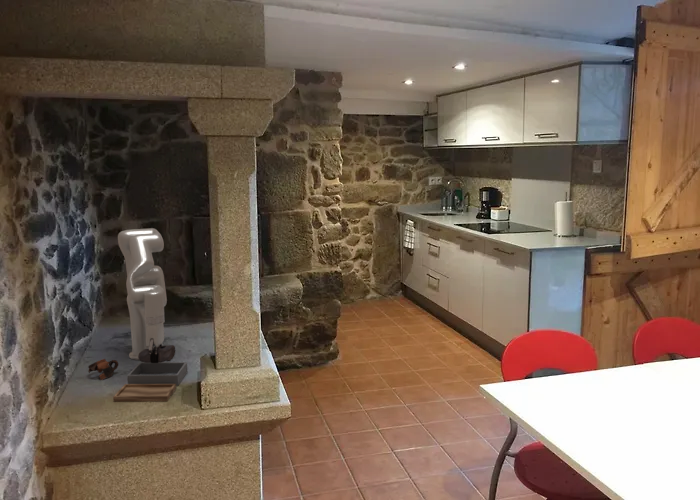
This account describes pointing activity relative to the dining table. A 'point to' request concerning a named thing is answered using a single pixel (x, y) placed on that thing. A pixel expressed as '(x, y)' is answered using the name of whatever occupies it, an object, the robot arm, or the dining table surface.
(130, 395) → the walnut tray
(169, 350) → the perforated stone tool
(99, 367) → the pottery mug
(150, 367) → the charcoal bin
